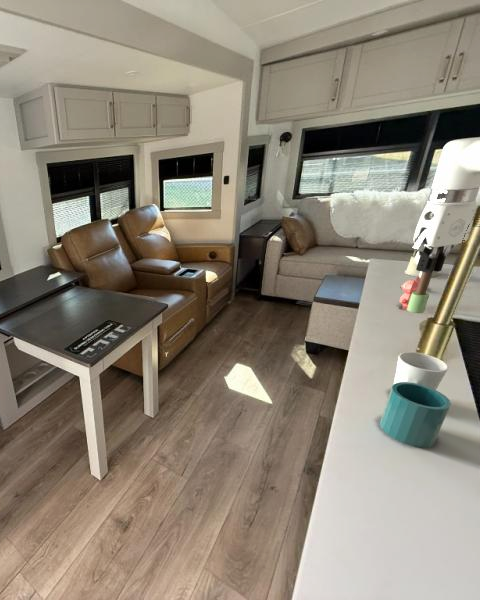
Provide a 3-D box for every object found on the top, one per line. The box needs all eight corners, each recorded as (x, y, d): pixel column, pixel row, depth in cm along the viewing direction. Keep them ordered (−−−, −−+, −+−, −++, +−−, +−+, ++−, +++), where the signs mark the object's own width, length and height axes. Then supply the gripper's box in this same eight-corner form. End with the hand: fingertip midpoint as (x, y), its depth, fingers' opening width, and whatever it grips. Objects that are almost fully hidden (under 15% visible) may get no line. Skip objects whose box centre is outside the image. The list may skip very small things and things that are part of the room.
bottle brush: (419, 308, 86) (439, 247, 80) (426, 313, 83) (447, 251, 77) (404, 308, 87) (422, 248, 81) (410, 313, 84) (429, 251, 78)
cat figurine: (397, 302, 123) (406, 273, 118) (422, 307, 118) (432, 277, 113) (392, 308, 119) (401, 278, 115) (417, 313, 114) (428, 282, 109)
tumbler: (418, 424, 71) (434, 384, 67) (442, 454, 64) (462, 412, 60) (372, 417, 74) (384, 379, 70) (390, 445, 67) (404, 405, 63)
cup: (379, 399, 79) (392, 359, 75) (394, 387, 82) (407, 348, 78) (422, 418, 73) (439, 376, 68) (437, 405, 76) (455, 363, 71)
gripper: (442, 201, 70) (417, 280, 77) (502, 192, 71) (473, 270, 78) (404, 199, 77) (385, 271, 84) (460, 191, 78) (437, 262, 85)
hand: (428, 270), depth 81 cm, fingers closed on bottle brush
